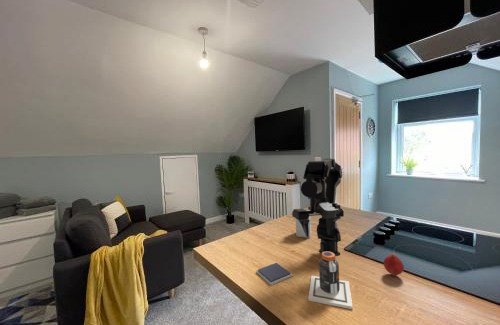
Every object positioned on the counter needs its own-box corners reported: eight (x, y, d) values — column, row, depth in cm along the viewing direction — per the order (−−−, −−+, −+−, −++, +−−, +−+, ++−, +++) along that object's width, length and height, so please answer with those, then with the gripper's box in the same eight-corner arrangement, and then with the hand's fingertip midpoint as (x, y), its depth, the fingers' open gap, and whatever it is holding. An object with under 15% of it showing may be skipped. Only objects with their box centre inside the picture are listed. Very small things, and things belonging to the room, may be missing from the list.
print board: (311, 277, 74) (311, 275, 74) (348, 283, 70) (348, 280, 69) (308, 300, 63) (308, 297, 63) (352, 309, 58) (352, 305, 58)
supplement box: (310, 238, 108) (309, 214, 107) (295, 236, 111) (294, 213, 110) (311, 232, 115) (310, 210, 114) (298, 231, 117) (297, 209, 117)
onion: (380, 271, 76) (379, 249, 76) (396, 270, 76) (395, 249, 75) (390, 280, 70) (390, 257, 70) (408, 280, 70) (407, 257, 70)
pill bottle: (341, 295, 63) (340, 258, 62) (321, 293, 64) (319, 258, 64) (337, 283, 69) (336, 249, 68) (318, 282, 70) (317, 249, 70)
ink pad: (276, 264, 84) (276, 261, 84) (292, 276, 75) (292, 273, 75) (256, 272, 79) (256, 269, 79) (270, 285, 71) (270, 282, 71)
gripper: (306, 198, 68) (306, 246, 68) (354, 195, 73) (355, 240, 72) (291, 194, 79) (291, 235, 79) (333, 192, 83) (334, 231, 83)
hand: (318, 235), depth 78 cm, fingers open, 9 cm apart
